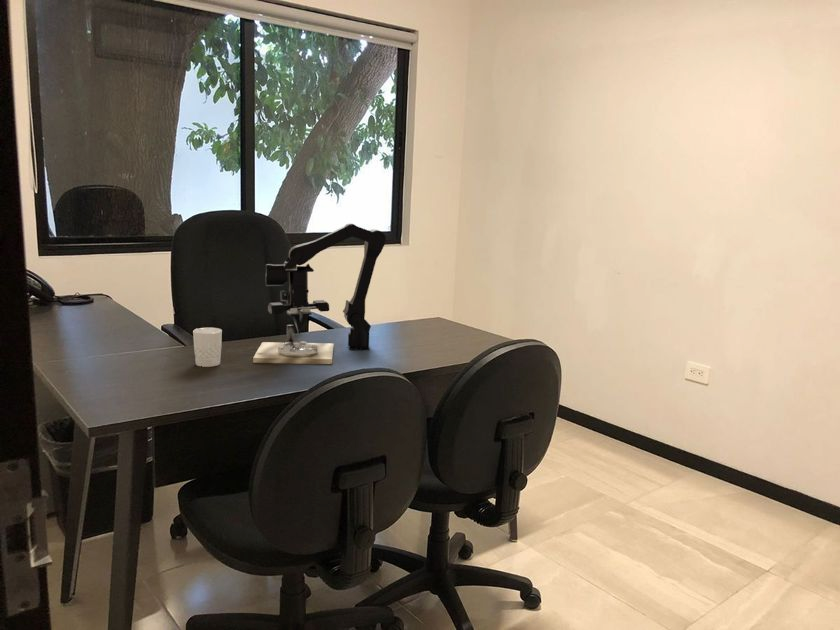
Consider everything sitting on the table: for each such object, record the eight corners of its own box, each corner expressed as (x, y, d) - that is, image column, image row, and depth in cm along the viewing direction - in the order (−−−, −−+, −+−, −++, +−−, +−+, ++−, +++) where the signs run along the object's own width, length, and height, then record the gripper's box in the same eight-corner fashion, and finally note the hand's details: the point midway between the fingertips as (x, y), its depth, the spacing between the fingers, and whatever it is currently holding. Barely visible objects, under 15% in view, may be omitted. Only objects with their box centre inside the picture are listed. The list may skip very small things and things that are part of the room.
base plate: (333, 347, 213) (333, 343, 212) (331, 363, 193) (331, 358, 193) (262, 346, 210) (262, 341, 210) (253, 362, 190) (253, 357, 190)
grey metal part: (322, 355, 195) (322, 336, 194) (282, 358, 191) (282, 337, 189) (307, 342, 212) (308, 323, 211) (270, 344, 207) (270, 325, 206)
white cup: (187, 364, 185) (186, 330, 184) (208, 359, 192) (207, 326, 190) (207, 369, 182) (207, 334, 180) (228, 363, 189) (227, 330, 187)
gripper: (319, 280, 217) (319, 326, 220) (263, 283, 209) (264, 330, 212) (329, 285, 207) (329, 333, 210) (271, 288, 199) (272, 337, 202)
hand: (299, 333), depth 209 cm, fingers closed
